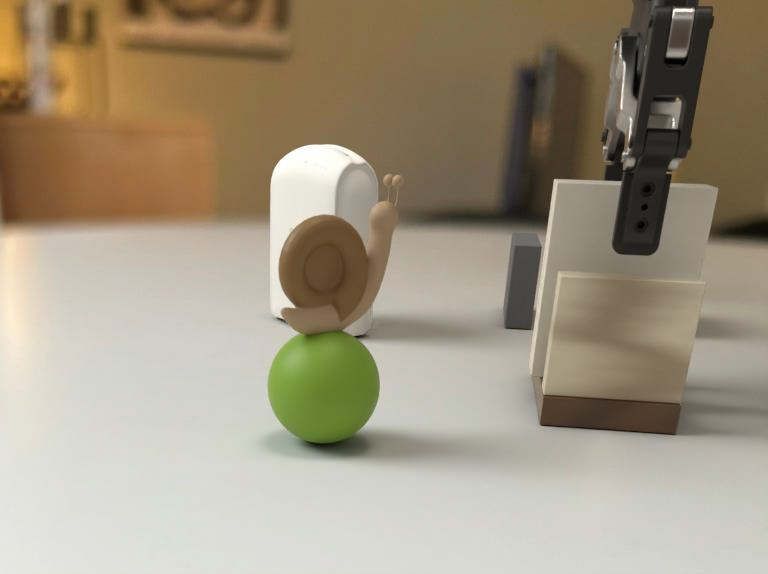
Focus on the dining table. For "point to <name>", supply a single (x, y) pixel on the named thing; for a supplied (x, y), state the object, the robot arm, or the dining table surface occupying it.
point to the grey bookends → (521, 280)
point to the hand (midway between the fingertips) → (623, 244)
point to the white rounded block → (319, 204)
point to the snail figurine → (330, 323)
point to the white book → (594, 242)
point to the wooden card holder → (618, 351)
